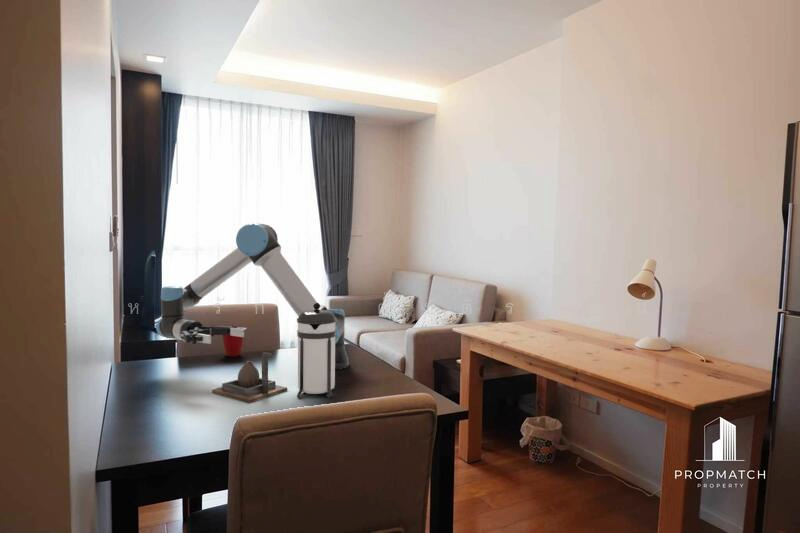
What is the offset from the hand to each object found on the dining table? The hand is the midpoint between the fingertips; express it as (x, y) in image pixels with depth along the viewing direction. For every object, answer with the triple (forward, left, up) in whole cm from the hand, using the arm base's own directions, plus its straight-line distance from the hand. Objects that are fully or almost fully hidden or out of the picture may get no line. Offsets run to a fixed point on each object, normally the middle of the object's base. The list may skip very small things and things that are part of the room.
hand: (227, 336), depth 173 cm
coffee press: (-31, +4, -17) cm, 36 cm away
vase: (-9, +5, -16) cm, 19 cm away
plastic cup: (+16, -46, -17) cm, 52 cm away
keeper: (-9, +5, -17) cm, 20 cm away
